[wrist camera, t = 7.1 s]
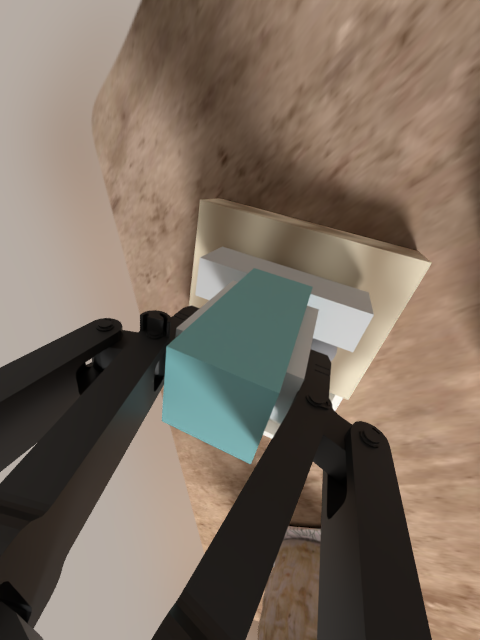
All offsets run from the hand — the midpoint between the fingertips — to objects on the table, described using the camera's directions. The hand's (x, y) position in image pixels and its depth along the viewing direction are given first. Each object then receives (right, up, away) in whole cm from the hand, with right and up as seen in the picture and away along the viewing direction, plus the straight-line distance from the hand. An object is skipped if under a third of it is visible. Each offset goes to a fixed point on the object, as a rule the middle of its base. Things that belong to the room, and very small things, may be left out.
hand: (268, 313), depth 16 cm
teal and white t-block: (+2, +2, +5) cm, 6 cm away
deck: (+3, +2, +10) cm, 11 cm away
